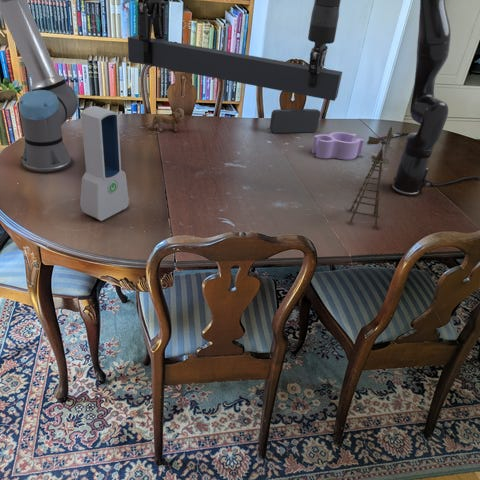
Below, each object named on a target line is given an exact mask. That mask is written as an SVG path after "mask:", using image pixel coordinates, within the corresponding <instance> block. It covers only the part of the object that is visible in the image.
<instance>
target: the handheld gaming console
mask: <svg viewBox="0 0 480 480" xmlns="http://www.w3.org/2000/svg"><path fill="white" fill-rule="evenodd" d="M321 115H322V113H321V111H320V110H319V109H316V108H283V109H273V110H272V111H271V114H270V123H269V131H270V132H271V133H272V134H290V133H292V134H293V133H315V132H317V131H318V129H319V123H320V118H321Z"/></svg>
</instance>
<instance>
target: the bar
mask: <svg viewBox="0 0 480 480" xmlns="http://www.w3.org/2000/svg"><path fill="white" fill-rule="evenodd" d="M150 42H152V64H149V63H144V50H143V48H144V47H143V41H140V40H139V35H131V36H127V51H128V52H127V53H128V54H127V55H128V63H134V64H139V65H145V66H150V67H156V68H160V69H166V70H171V71H176V72H181V73H187V74H191V75H197V76H201V77H202V76H203V77H208V78H213V79H218V80H222V81H227V82H234V83H239V84H243V85H248V86H255V87H259V88H264V89H271V90H275V91H280V92H286V93H290V94H291V93H292V94H297V95H302V96H306V97H311V98H317V99H323V100H328V101H333V102H335V101H336V99H337V98H338V96H339V90H340V85H341V81H342V75H343V71H342V70H341V71H340V70H335V69H329V68H324V67H323V68H319V73H318V76H317V82H316V87H315V88H311V87H308V83H309V76H310V74H309V73H308V70H309V65H306V64H300V63H296V62H289V61H284V60H278V59H272V58H267V57H260V56H255V55H249V54H244V53H238V52H234V51H233V52H232V51H228V50H221V49H216V48H209V47H204V46H199V45H193V44H188V43H181V42H176V41H170V40H165V39H161V40H159V39H154V37H151V41H150ZM312 69H316V67H314V66H313V68H312Z"/></svg>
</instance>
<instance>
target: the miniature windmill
mask: <svg viewBox="0 0 480 480" xmlns="http://www.w3.org/2000/svg"><path fill="white" fill-rule="evenodd" d="M392 135H393V126H390V127H389V129H388V131H387V134H386V136H387V138H385V139H381V140H379V139H377V138H378V137H373V136H368V140H367V145H378V144H381V148H380V149H379V151H378V153H377V155H371V158H370V159H371V162H372V163H371V167H370V169H369V170H368V173H367V175H366V176H365V177H364V181H363V182H362V184H361V186H360V188H359V189H358V193H357V194H356V196H355V199H354V200H353V201H352V205H351V207H350V209H349V212H352V215H351V217H350V220H349V224H352V223H353V220H354V218H355V216H356V214H358V215H359V214H360V215H364V216H370V217H375V218H374V228H377V226H378V218H379V217H380V215H379V203H380V200H381V198H380V189H381V185H382V182H381V181H382V172H383V164H384V165H386V164H387V165H389V164H390V161H389V158H388V157H387V154H388V150H389V149H390V148H389V146H390V145H391V141H392V137H391V136H392ZM383 147H384V148H383ZM383 150H384V151H383ZM376 168H379V169H376ZM374 171H375V172H378V176H377V177H374V176H373V174H374ZM371 179H372V180H377V183H373V182H370V181H371ZM369 185H372V186H376V189H370V188H368V186H369ZM366 191H367V192H373V193H375V197H372V196H371V197H370V196H364V195H365V193H366ZM363 199H367V200H368V199H369V200H374V201H375V202H374V203H368V202H362V200H363ZM360 204H362V205H367V206H368V205H369V206H373V207H374V209H373V214H372V213H365V212H360V211H358V209H359V206H360ZM355 205H356V206H355Z"/></svg>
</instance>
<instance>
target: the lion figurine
mask: <svg viewBox="0 0 480 480" xmlns="http://www.w3.org/2000/svg"><path fill="white" fill-rule="evenodd" d="M184 118H185V110H184V109H183V108H180V107H179V108H176V109H175V111H173V112H171V113H170V114H163V113H157V114H155V115H154V116H153V120H152V123H151V125H150V127H149V130H152V129H154V130H155V129H158V131H159V132H163V131H164V130H163V129H162V128H161V125H162V123H163V124H165V125H171V129H172V130H173V132H175V133H176V132H178V130H177V125H178V124H180V123H181V122H182V121H183V120H184ZM156 125H157V127H156Z"/></svg>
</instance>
